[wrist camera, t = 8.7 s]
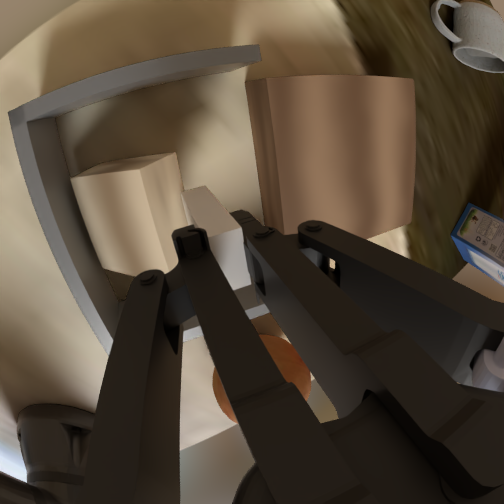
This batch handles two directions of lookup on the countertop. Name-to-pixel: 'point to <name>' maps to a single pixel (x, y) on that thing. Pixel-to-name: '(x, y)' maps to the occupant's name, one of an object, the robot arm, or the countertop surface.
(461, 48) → the ceramic mug
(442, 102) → the countertop surface
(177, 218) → the birch tile
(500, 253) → the milk carton
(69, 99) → the box
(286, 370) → the onion
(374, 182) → the walnut platform
